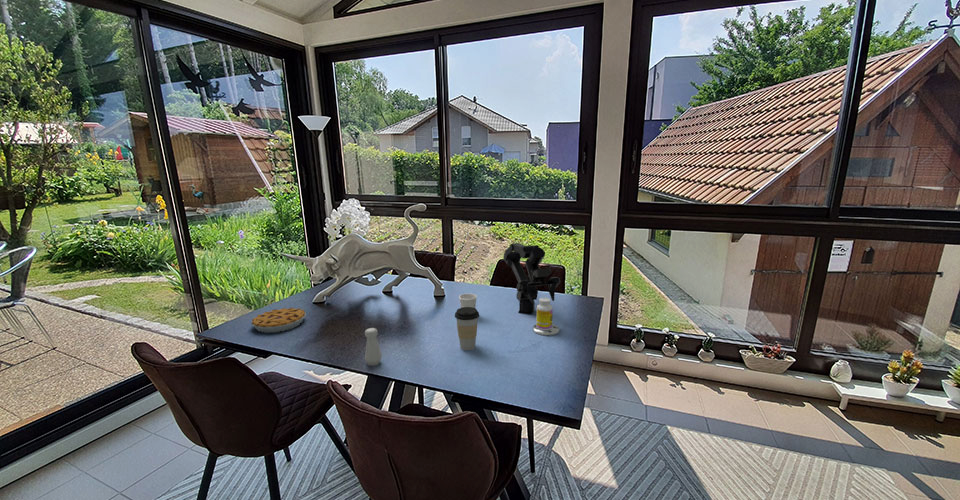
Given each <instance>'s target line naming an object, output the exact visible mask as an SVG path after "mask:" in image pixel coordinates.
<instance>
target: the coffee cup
mask: <svg viewBox="0 0 960 500" xmlns="http://www.w3.org/2000/svg"><path fill="white" fill-rule="evenodd" d="M454 318H455V319H456V328H457V335H458V340H459V347H460V349H461V350H463V351H472V350H474V349H476V343H477V342H476V339H477V331H478V324H479V323H478V319H479V318H480V313H479V311H478V309H477V308H476V307H475V308H473V307H462V308H461V307H459V308H457V309H456V312H455V313H454Z"/></svg>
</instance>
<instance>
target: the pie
mask: <svg viewBox="0 0 960 500" xmlns="http://www.w3.org/2000/svg"><path fill="white" fill-rule="evenodd" d="M306 315H307V312H306V311H305V310H304V309H301V308H294V307H289V308H286V307H284V308H283V307H282V308H281V309H280V308H279V309H272V310H271V311H265V312H263V313H261V314H258V315H257V316H256V317H254V318H252V321H251V323H250V325H252V326H253V327H254V328H255V330H256V331H258V332H260V331H261V332H260V333H279V332H280V331H282V332H285V330H286V331H288V330H291V329H294V328H295V327H298V326H300V323H301V324H302V323H303V320H304V318H306ZM280 333H281V332H280Z"/></svg>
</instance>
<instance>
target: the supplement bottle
mask: <svg viewBox="0 0 960 500" xmlns="http://www.w3.org/2000/svg"><path fill="white" fill-rule="evenodd" d="M538 303H539V304H537V305H536V321H535V323H536V324H535V325H536V327H537V329H539V330H542V331H548V330H551V329H552V324H553V308H554V307H553V306H552V305H551V299H550V298H549V297H540V298H539V299H538Z"/></svg>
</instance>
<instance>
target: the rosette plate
mask: <svg viewBox="0 0 960 500" xmlns="http://www.w3.org/2000/svg"><path fill="white" fill-rule="evenodd" d="M532 332H533V333H535V334H537V335H539V336H545V337H551V336H555V335H558V334H559V333H560V327H559V326H558V325H556V324H553V323H552V329H551V330H548V331H542V330H539V329H537V327H536V324H534V325H533V327H532Z"/></svg>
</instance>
